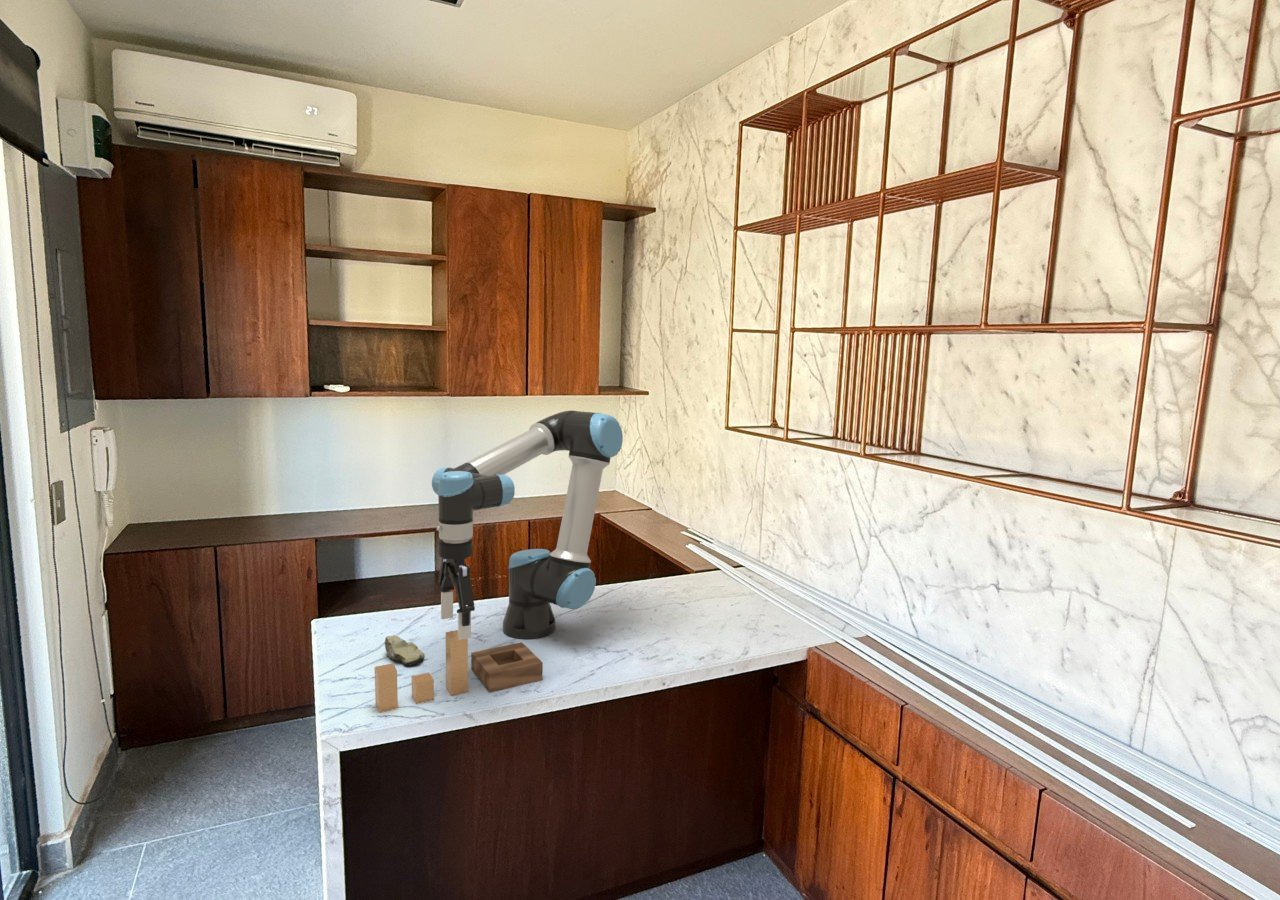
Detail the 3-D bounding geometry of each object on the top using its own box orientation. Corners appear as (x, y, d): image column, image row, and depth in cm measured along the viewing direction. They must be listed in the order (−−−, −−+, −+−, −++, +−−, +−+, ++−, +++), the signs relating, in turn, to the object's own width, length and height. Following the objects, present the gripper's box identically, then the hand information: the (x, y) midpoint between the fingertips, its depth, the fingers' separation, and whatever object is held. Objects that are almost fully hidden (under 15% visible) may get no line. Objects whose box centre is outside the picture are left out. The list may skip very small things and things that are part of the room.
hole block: (471, 669, 175) (471, 652, 174) (521, 658, 182) (521, 642, 181) (489, 692, 163) (489, 674, 163) (542, 679, 170) (542, 662, 170)
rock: (421, 671, 175) (428, 649, 185) (419, 649, 174) (427, 628, 183) (377, 673, 174) (387, 650, 184) (375, 651, 172) (385, 629, 182)
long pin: (446, 688, 165) (445, 632, 163) (462, 684, 167) (462, 629, 165) (451, 695, 161) (450, 638, 159) (468, 691, 163) (467, 635, 161)
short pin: (411, 696, 160) (411, 676, 160) (429, 692, 163) (429, 672, 162) (416, 704, 157) (415, 683, 156) (433, 700, 159) (433, 679, 158)
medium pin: (375, 704, 156) (374, 666, 155) (393, 700, 158) (393, 663, 157) (379, 712, 153) (378, 674, 152) (397, 708, 155) (397, 670, 154)
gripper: (424, 528, 167) (425, 612, 170) (455, 555, 146) (455, 650, 149) (455, 525, 171) (455, 608, 174) (489, 551, 150) (489, 644, 153)
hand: (455, 628), depth 161 cm, fingers open, 13 cm apart
